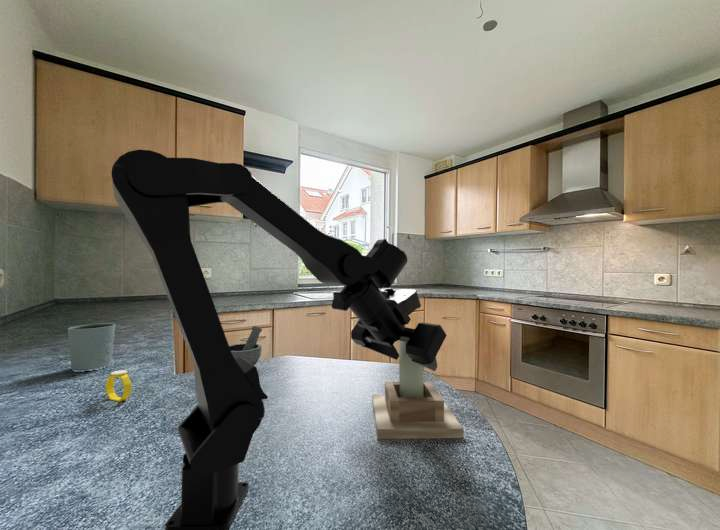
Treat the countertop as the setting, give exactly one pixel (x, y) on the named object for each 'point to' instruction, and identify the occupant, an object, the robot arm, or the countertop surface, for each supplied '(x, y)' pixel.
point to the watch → (126, 382)
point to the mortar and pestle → (248, 347)
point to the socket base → (413, 415)
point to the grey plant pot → (91, 345)
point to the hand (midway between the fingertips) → (415, 362)
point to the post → (409, 374)
